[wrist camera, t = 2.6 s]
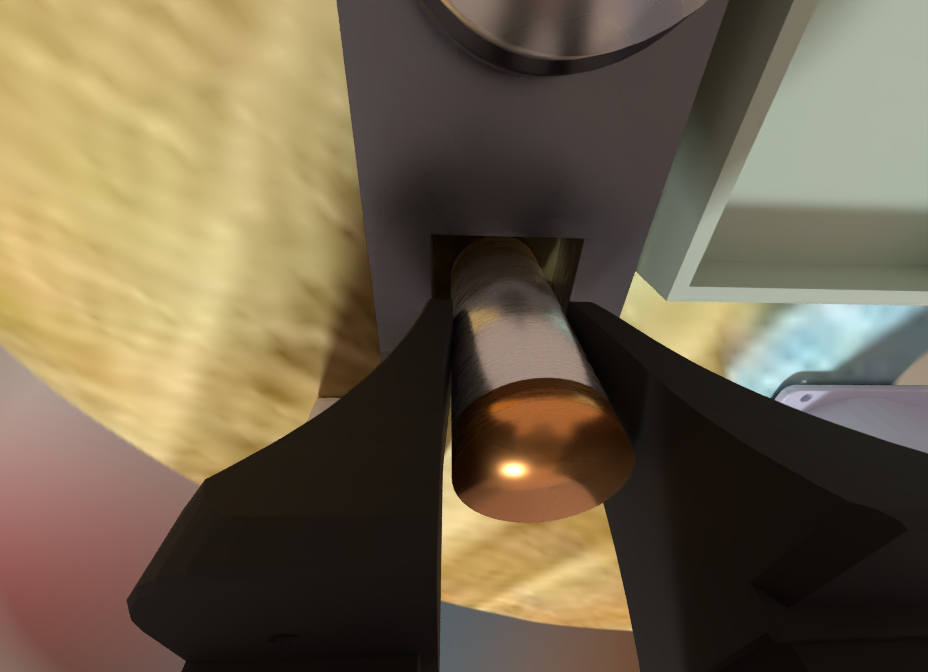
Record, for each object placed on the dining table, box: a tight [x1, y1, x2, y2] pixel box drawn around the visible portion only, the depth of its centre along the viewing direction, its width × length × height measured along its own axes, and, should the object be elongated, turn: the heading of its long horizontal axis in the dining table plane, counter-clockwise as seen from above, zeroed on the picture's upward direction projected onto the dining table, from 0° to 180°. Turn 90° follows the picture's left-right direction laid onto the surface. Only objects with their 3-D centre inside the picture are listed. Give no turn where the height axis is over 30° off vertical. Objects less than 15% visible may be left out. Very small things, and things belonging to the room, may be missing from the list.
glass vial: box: [451, 236, 635, 523], centre depth 9 cm, size 3×3×8 cm
